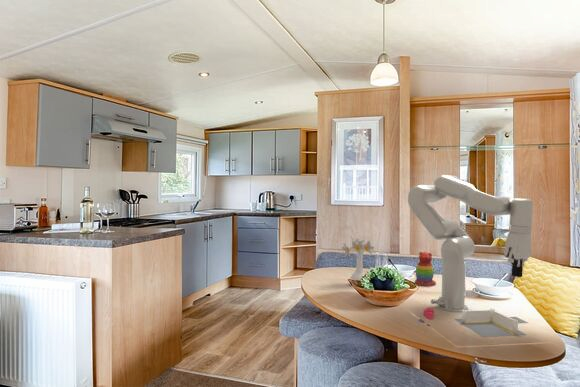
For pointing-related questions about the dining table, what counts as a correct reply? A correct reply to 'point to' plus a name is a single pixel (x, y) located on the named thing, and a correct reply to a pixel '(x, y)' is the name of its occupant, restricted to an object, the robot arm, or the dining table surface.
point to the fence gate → (505, 321)
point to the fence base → (486, 323)
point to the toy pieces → (428, 314)
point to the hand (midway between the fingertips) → (516, 276)
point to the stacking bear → (425, 270)
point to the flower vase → (358, 256)
